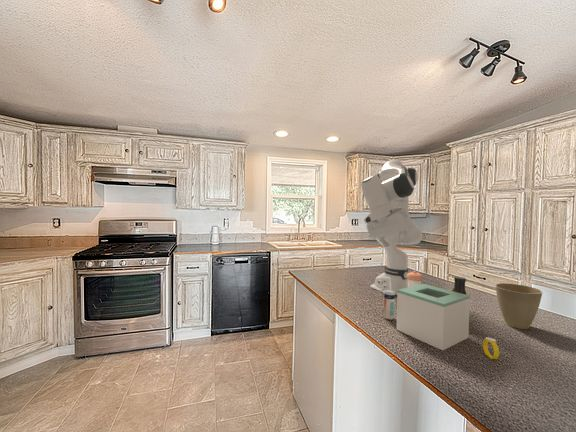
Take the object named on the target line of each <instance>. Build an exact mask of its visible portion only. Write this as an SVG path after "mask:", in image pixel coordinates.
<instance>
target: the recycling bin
mask: <svg viewBox="0 0 576 432" xmlns="http://www.w3.org/2000/svg"><path fill="white" fill-rule="evenodd" d="M470 299H471V296H470V295H468V294H467V295H465V294H461V293H457V292H454V291H452V290H449V289H447V288H441V287H437V286H433V285H431V284H430V285H429V284H426V283H421V284H420V285H416V286H412V287H408V288H403V289H399V290H397V295H396V331H399V332H401V333H403V334H405V335H408V336H410V337H412V338H414V339H416V340H419V341H420V342H423V343H426V344H428V345H430V346H432V347H433V348H436V349H438V350H441V351H445V350H447V349H448V348H451V347H452V346H455V345H456V344H459V343H461V342H463V341H464V340H467V339H468V338H469V333H470V331H469V330H470V305H471V304H470V303H471V301H470Z"/></svg>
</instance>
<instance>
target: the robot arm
mask: <svg viewBox="0 0 576 432" xmlns="http://www.w3.org/2000/svg"><path fill="white" fill-rule="evenodd" d="M403 164H404V163H403V162H402V161H401V160H399V159H396V158H393V159H392V158H391V159H389V160H388V161H387V162H385V163H384V164H383V165H382V167H381V169H380V171H378V172H377V174H375V175H371V176H369V177H367V178H365V179H363V180H362V181H361V182H360V187H361V191H362V193H363V197H364V200H365V202H366V203H367V204H368V210H369V211H370V213H369V214H368V215H367V216H365V218H364V219H363V221H364V223H365V224H366V230H367V232H368V234H369V237H370V238H371V239H372V240H376V241H377V242H378V243H379V244H380V245H382V247H383V248H384V251H385V253H386V262H387V263H386V266H384V267H383V269H382V270H384V272H382V273H380V274H379V275H377V276H376V277H375V280H374V283H372V284H370V288H372V289H374V290H376V291H378V292H381V293H384V291H385V290H392V291H394V293H395V296H397V290H399V289H403V288H408V279H407V274H408V273H409V268H408V266H409V265H408V261H409V258H408V257H409V256H408V254H407V253H406V252H405V251H403V250H401V249H399V248H398V247H397V245H403V246H404V245H407V246H409V245H418V244H420V243H421V241H422V240H423V232H422V230H421V228H420V227H418V226H417V225H416V224H415V223H414V222H413V221H412V218H411V216H410V211H409V205H410V204H409V197H411V195H412V194H413V193H414V191H415V187H414V186H416V185H417V183H418V179H419V174H418V172H417V170H416V169H415V168H414V167H406V166H405V165H403Z"/></svg>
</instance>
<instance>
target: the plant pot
mask: <svg viewBox="0 0 576 432" xmlns="http://www.w3.org/2000/svg"><path fill="white" fill-rule="evenodd" d="M494 287H495V293H496V298H497V301H498V305H499V309H500V312H501V315H502V317H503V320H504V322H505V324H506V325H508V326H509V327H512V328H515V329H519V330H520V329H521V330H528V329H530V327H531V325H532V324H533V322H534V320H535V317H536V315H537V313H538V310H539V307H540V304H541V300H542V297H543V290H541V289H538V288H536V287H533V286H528V285H523V284H518V283H517V284H516V283H508V282H507V283H506V282H505V283H504V282H502V283H501V282H500V283H496V284H494Z"/></svg>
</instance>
